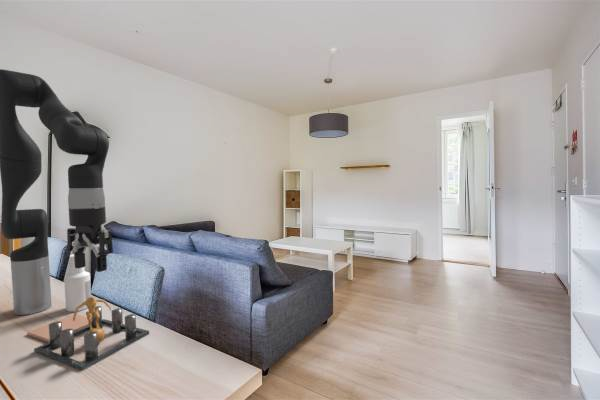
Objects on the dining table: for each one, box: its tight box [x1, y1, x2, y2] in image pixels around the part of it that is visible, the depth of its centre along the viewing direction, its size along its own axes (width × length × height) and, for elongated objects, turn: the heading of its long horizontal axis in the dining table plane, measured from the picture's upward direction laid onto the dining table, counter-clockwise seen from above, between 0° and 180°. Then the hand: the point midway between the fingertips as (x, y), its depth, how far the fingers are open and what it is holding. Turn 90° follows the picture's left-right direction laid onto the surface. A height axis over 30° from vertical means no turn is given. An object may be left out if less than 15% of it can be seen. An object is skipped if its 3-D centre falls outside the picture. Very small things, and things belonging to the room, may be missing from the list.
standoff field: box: [33, 305, 150, 371], centre depth 76 cm, size 19×17×6 cm
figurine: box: [73, 295, 112, 345], centre depth 76 cm, size 8×6×12 cm
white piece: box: [64, 253, 92, 313], centre depth 97 cm, size 7×7×18 cm
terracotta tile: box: [27, 313, 89, 343], centre depth 84 cm, size 11×12×1 cm
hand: (90, 269), depth 75 cm, fingers open, 8 cm apart
